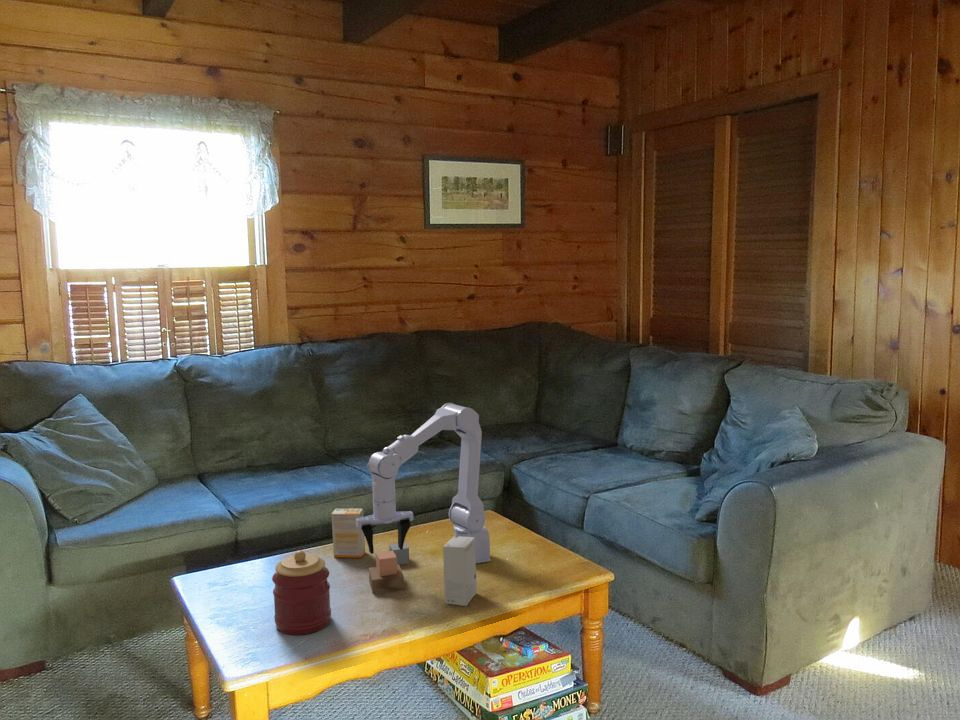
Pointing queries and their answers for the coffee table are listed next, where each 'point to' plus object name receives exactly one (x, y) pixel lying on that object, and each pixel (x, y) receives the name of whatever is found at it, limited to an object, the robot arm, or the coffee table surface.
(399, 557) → the slate grey cube
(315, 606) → the canister
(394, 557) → the terracotta cube
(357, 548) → the supplement box
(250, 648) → the coffee table surface
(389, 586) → the walnut block
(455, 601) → the skincare box
